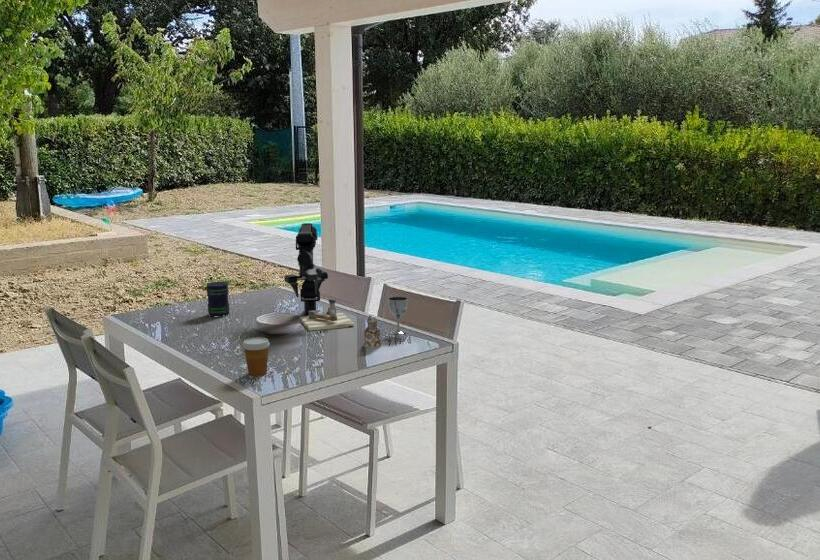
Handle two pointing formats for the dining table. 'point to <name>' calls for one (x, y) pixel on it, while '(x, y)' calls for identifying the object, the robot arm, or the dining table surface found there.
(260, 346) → the disposable coffee cup
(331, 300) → the lever
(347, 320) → the nutcracker base
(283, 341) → the dining table surface
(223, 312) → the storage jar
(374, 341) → the figurine
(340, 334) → the dining table surface
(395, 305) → the wine glass
